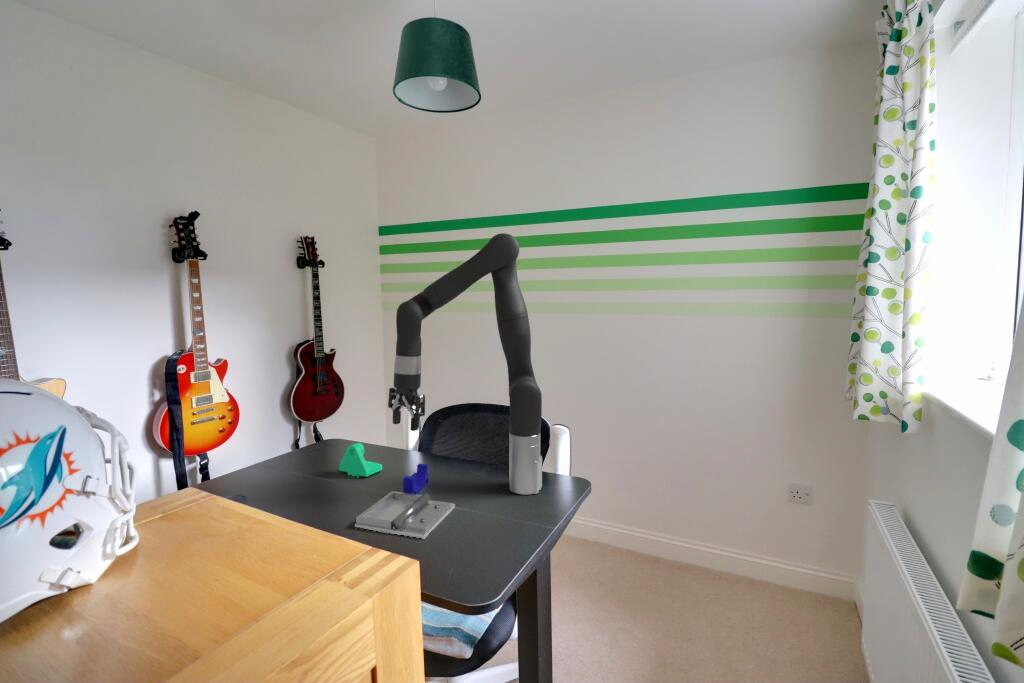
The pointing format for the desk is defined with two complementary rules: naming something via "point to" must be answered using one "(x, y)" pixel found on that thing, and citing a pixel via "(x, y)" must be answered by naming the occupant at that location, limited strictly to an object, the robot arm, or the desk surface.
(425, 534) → the hinge plate
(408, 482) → the blue stepped long block
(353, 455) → the camera mount
